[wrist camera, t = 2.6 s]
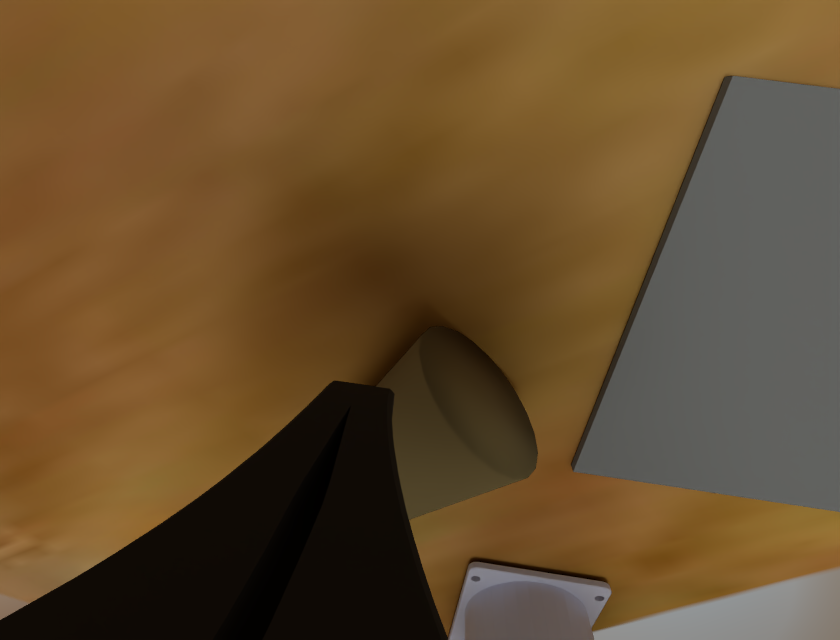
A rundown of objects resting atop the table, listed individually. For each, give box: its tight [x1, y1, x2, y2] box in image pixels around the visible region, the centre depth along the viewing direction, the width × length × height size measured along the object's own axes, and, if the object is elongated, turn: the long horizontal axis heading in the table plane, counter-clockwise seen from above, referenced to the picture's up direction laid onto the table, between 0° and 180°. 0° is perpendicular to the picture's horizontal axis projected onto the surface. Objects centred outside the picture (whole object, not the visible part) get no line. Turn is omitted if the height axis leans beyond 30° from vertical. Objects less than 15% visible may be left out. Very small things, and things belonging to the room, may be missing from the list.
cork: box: [376, 326, 538, 519], centre depth 17 cm, size 6×6×11 cm
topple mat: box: [571, 76, 840, 512], centre depth 15 cm, size 16×13×1 cm
